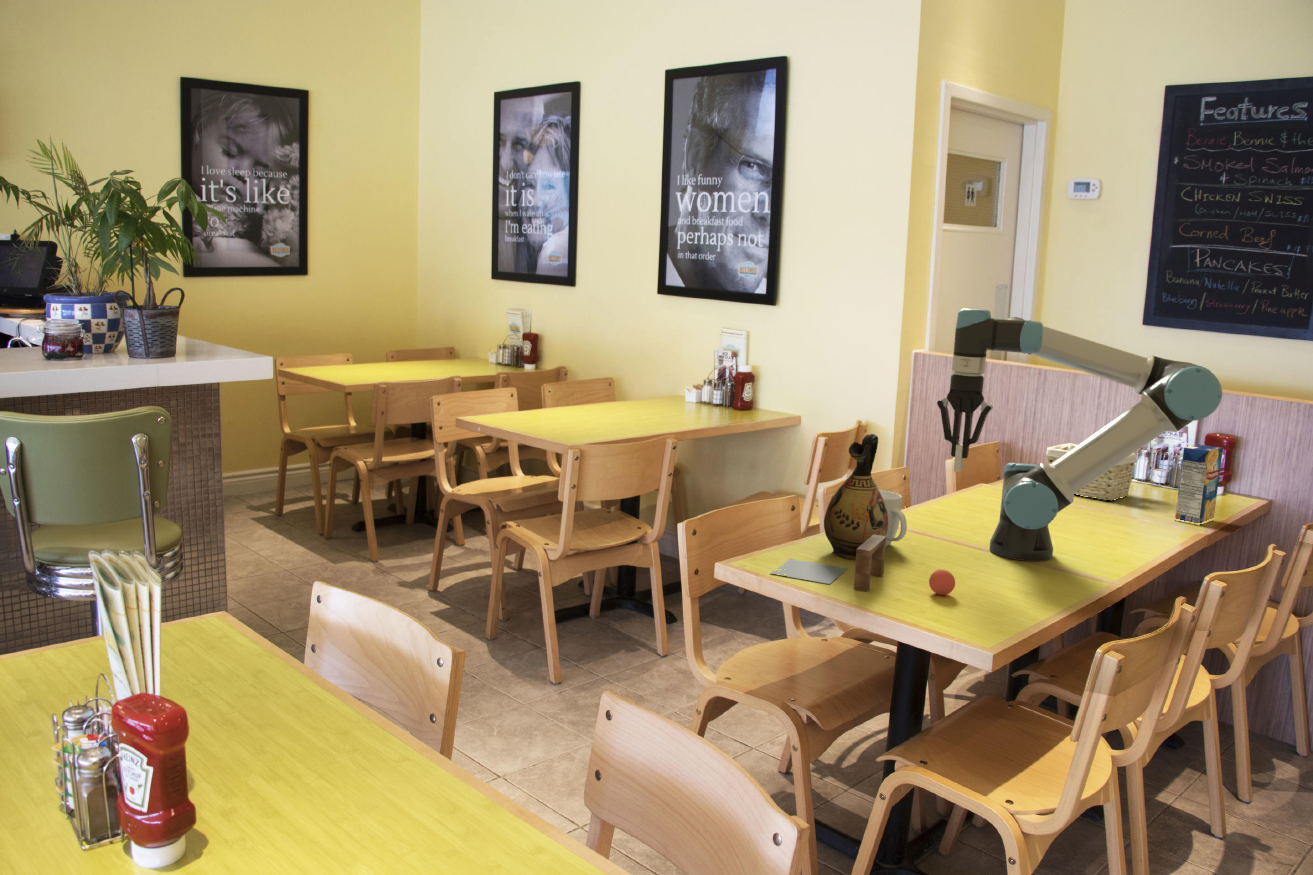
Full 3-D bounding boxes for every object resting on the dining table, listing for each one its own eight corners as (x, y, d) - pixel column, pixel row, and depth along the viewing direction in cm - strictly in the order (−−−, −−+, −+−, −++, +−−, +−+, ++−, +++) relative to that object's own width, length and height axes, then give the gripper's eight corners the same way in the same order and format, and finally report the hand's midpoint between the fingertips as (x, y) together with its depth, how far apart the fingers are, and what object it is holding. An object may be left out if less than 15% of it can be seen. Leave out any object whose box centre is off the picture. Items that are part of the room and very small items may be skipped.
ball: (956, 593, 226) (958, 568, 225) (951, 599, 221) (953, 575, 220) (930, 588, 228) (932, 564, 227) (925, 595, 223) (927, 571, 222)
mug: (918, 550, 260) (922, 499, 257) (887, 555, 254) (891, 504, 251) (875, 536, 272) (879, 487, 270) (845, 540, 266) (848, 491, 264)
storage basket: (1040, 490, 340) (1044, 446, 337) (1062, 484, 351) (1066, 441, 348) (1112, 504, 323) (1118, 458, 320) (1133, 497, 334) (1139, 453, 331)
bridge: (883, 574, 237) (886, 536, 236) (867, 591, 224) (870, 550, 223) (870, 572, 239) (873, 534, 237) (853, 589, 226) (856, 548, 224)
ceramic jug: (872, 567, 243) (882, 442, 238) (812, 555, 251) (820, 434, 246) (896, 552, 257) (906, 434, 252) (838, 541, 265) (846, 426, 260)
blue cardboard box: (1174, 520, 303) (1183, 447, 299) (1189, 515, 310) (1198, 444, 306) (1198, 525, 298) (1208, 451, 294) (1213, 520, 305) (1223, 447, 301)
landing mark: (847, 569, 241) (847, 568, 241) (829, 584, 228) (829, 583, 228) (790, 559, 247) (790, 558, 247) (770, 574, 234) (770, 573, 234)
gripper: (936, 372, 245) (927, 469, 249) (992, 377, 239) (982, 477, 243) (944, 370, 251) (934, 464, 256) (998, 375, 245) (988, 472, 249)
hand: (957, 470), depth 249 cm, fingers closed
